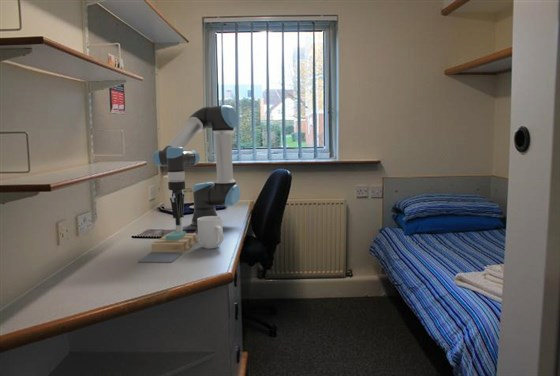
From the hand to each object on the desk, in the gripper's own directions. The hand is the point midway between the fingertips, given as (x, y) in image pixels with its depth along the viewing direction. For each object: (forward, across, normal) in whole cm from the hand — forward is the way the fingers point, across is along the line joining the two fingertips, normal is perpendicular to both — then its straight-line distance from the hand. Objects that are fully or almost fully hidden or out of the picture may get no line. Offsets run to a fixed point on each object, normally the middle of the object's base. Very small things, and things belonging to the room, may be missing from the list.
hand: (179, 231), depth 211 cm
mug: (+6, +6, +17) cm, 19 cm away
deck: (+6, +6, 0) cm, 8 cm away
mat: (+6, +23, 0) cm, 24 cm away
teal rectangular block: (+2, +5, 0) cm, 5 cm away
